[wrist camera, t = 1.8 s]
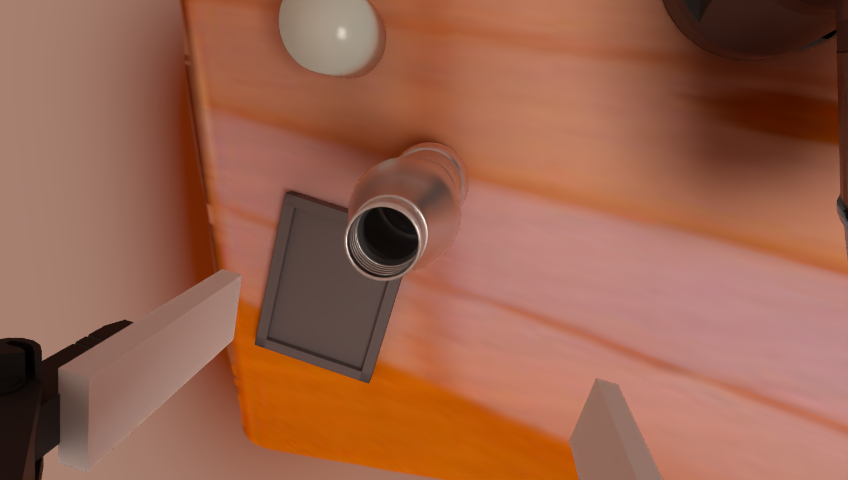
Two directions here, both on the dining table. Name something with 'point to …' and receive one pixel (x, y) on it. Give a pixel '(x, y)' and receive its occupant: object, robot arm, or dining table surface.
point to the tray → (322, 294)
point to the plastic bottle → (405, 211)
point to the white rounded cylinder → (333, 35)
